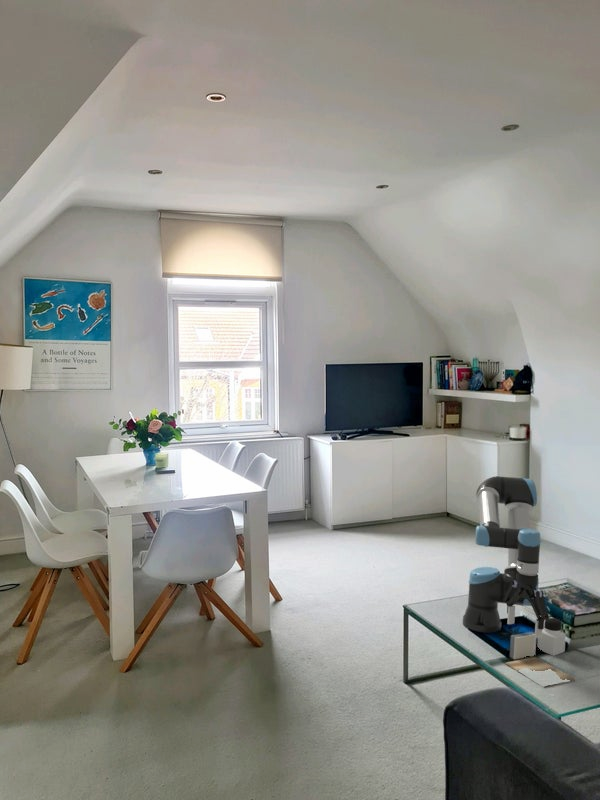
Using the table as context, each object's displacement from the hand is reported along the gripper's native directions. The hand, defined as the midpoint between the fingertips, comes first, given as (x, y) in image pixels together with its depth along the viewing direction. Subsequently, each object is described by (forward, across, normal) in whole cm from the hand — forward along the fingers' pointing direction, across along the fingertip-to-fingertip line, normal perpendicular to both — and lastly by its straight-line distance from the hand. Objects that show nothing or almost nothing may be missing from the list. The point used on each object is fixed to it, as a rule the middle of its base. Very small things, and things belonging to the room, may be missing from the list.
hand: (524, 630), depth 236 cm
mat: (+10, +12, -4) cm, 16 cm away
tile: (+10, 0, 0) cm, 10 cm away
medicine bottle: (+10, 0, +14) cm, 17 cm away
